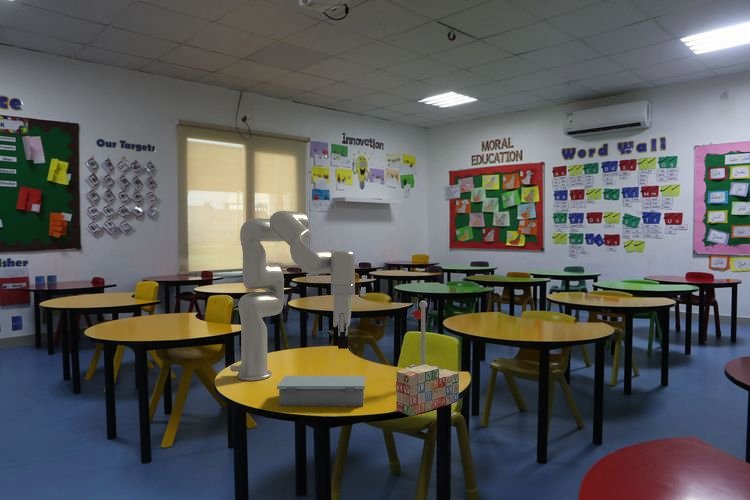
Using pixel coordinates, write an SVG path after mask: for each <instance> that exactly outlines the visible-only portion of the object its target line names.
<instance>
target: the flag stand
mask: <svg viewBox="0 0 750 500" xmlns="http://www.w3.org/2000/svg"><path fill="white" fill-rule="evenodd" d="M418 306H419V309H417V310H415V311H412V312H411V313H410V315H411V316H413V317H415V318H417V320H420V366H421V365H426V309H427V307H428V302H427V301H425V300H421V301H419V304H418ZM413 367H417V365H416V364H411V365H409V367H408V366H407V367H405V368H404V370H405V369H409V368H413ZM432 367H436V368H439V371H440V370H442V368H440V367H439V366H437V365H432Z"/></svg>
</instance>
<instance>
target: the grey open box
mask: <svg viewBox="0 0 750 500" xmlns="http://www.w3.org/2000/svg"><path fill="white" fill-rule="evenodd" d="M278 395H279V396H278V404H279V407H364V398H365V389H355V393H345V389H297V393H287V389H278Z"/></svg>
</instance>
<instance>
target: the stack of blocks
mask: <svg viewBox="0 0 750 500" xmlns="http://www.w3.org/2000/svg"><path fill="white" fill-rule="evenodd" d="M432 366H433V365H432ZM432 366H431V365H429V364H425V365H421V364H420V365H418V366H417V365H416V367H413V368H409V369H405V368H404V369H400V370H397V371H396V381H395V382H396V385H395V389H396V390H395V391H396V405H395V406H396V411H397V412H399V413H401V414H404V415H407V416H409V417H412V416H416V415H420V414H423V413H425V412H426V413H427V412H429V411H432V410H434V409H435V410H436V409H439V408H441V407H445V406H448V405H451V404H455V403H457V402H460V381H459V380H460V375H459V372H456V371H454V370H449V369H446V368H445V369H441V370H440V371H439V369H440V367H439V368H436V367H432Z"/></svg>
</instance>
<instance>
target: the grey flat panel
mask: <svg viewBox="0 0 750 500" xmlns="http://www.w3.org/2000/svg"><path fill="white" fill-rule="evenodd" d="M366 380H367V379H366V375H284V376H283V378H282V379H281V380H280V381H279V383H278V384H277V385H276V390H280V389H287V393H297V389H345V393H355V389H364V390H365V389H366Z"/></svg>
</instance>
